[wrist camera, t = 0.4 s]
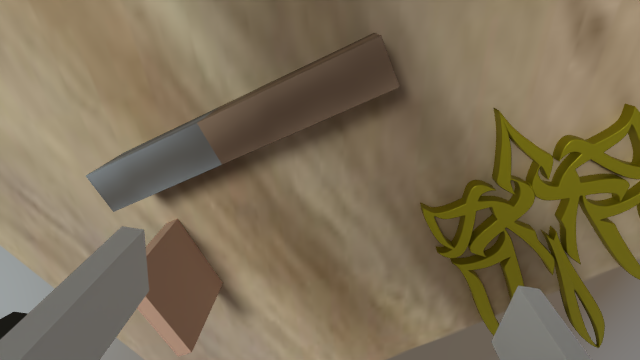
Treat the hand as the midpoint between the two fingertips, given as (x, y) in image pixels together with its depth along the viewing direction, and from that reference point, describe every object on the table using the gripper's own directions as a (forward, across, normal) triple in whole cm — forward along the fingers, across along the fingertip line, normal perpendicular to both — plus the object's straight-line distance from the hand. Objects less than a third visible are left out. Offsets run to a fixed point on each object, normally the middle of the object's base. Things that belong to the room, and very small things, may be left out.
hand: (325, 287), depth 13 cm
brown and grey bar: (+24, -9, -1) cm, 25 cm away
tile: (+24, -14, -19) cm, 33 cm away
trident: (+24, +26, -10) cm, 37 cm away
